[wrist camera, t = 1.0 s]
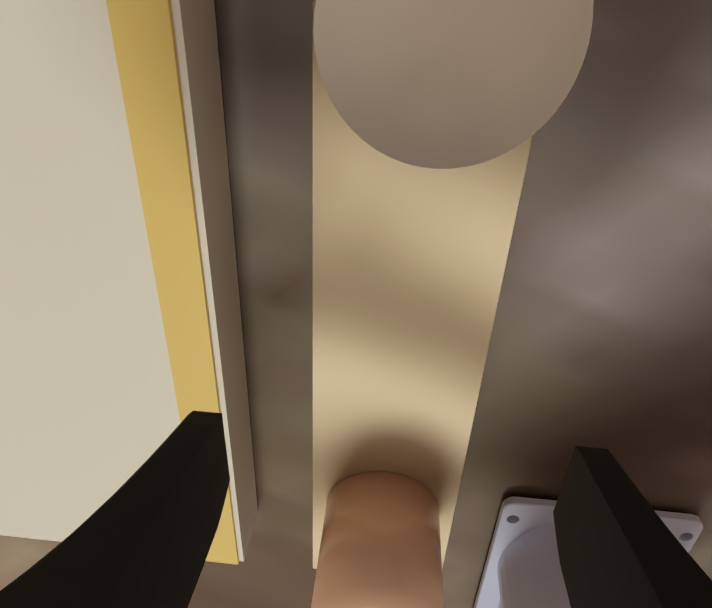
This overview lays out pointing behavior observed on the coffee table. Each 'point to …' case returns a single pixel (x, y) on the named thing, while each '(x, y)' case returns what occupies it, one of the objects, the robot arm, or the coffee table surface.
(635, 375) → the coffee table surface
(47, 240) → the dock
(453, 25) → the taupe tapered cylinder
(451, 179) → the beige long bar
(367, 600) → the cylinder
